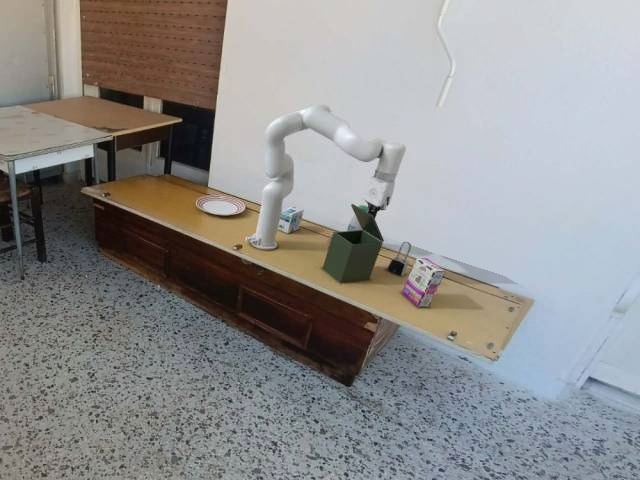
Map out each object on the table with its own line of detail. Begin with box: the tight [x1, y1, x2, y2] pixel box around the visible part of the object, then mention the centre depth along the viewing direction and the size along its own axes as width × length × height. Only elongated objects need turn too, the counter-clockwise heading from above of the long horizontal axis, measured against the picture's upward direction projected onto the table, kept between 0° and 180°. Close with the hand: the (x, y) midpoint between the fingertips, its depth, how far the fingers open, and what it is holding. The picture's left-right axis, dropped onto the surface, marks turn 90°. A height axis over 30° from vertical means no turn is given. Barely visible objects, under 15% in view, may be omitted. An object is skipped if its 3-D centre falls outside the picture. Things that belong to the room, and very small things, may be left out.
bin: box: [322, 230, 384, 284], centre depth 195 cm, size 15×13×18 cm
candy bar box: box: [401, 257, 446, 308], centre depth 180 cm, size 11×5×16 cm, turn 5°
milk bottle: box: [346, 204, 368, 231], centre depth 220 cm, size 8×8×20 cm
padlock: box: [386, 241, 412, 277], centre depth 199 cm, size 7×4×15 cm, turn 37°
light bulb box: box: [277, 205, 304, 234], centre depth 235 cm, size 11×7×11 cm, turn 129°
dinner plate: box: [195, 194, 246, 217], centre depth 257 cm, size 28×27×3 cm
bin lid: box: [350, 203, 385, 243], centre depth 188 cm, size 15×13×1 cm
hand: (370, 219), depth 187 cm, fingers closed
